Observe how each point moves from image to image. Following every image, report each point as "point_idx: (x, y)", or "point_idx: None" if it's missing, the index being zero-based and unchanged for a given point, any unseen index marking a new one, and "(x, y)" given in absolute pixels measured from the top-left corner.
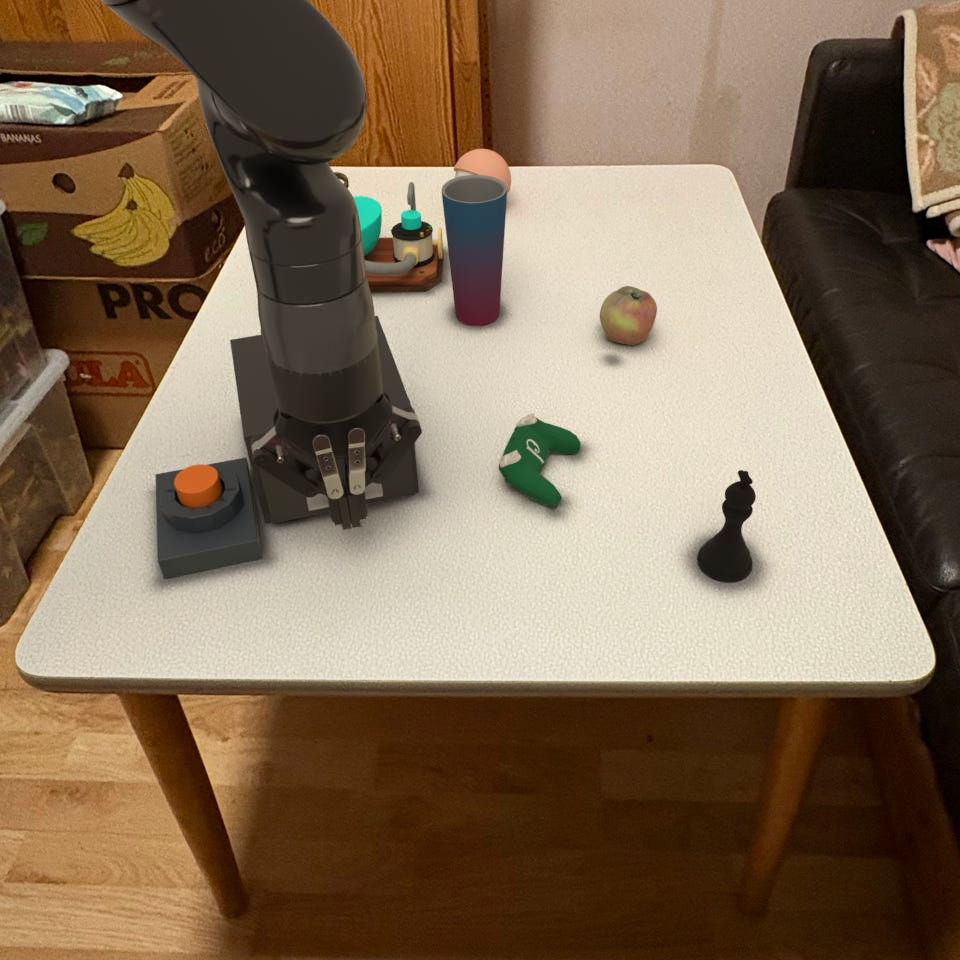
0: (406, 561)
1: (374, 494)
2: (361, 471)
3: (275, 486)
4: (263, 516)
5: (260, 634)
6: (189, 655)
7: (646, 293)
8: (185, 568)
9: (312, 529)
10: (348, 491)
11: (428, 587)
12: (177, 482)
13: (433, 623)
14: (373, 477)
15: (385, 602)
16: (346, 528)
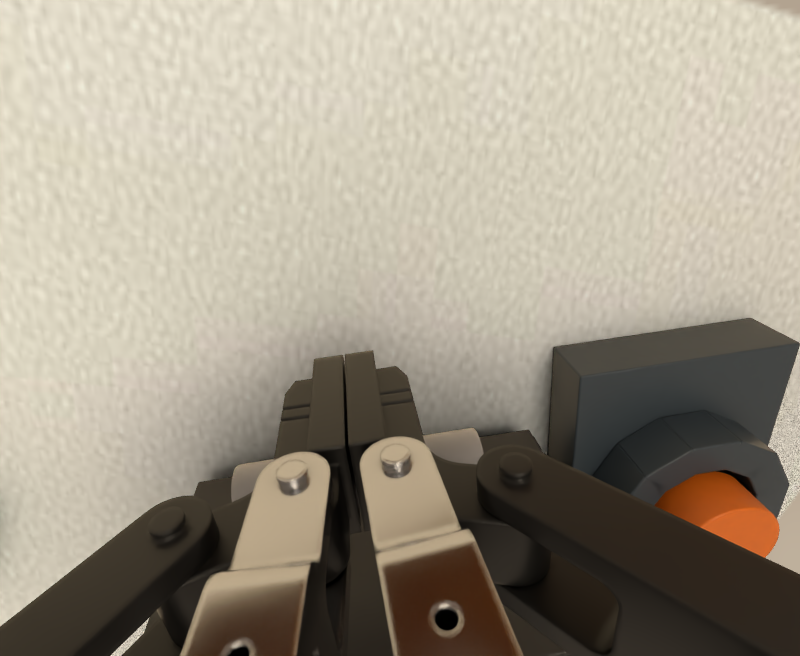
0: (219, 295)
1: (260, 468)
2: (235, 574)
3: None
4: (541, 450)
5: (595, 111)
6: (764, 76)
7: None
8: (720, 331)
9: (439, 413)
10: (340, 471)
11: (151, 196)
12: (772, 538)
13: (123, 48)
14: (198, 530)
15: (272, 162)
16: (361, 353)
